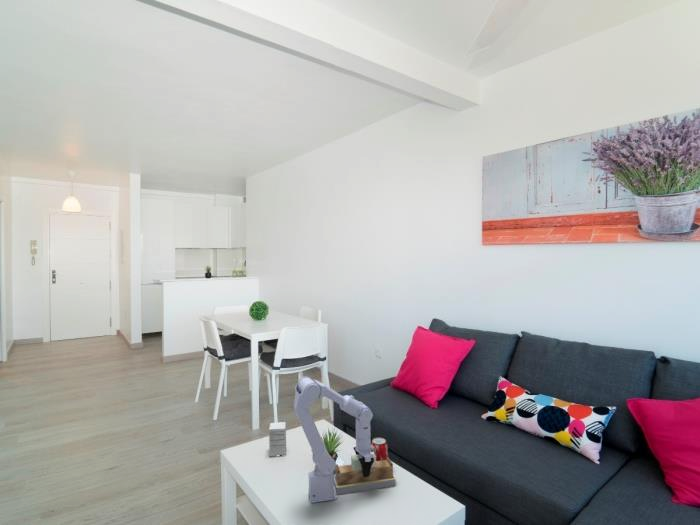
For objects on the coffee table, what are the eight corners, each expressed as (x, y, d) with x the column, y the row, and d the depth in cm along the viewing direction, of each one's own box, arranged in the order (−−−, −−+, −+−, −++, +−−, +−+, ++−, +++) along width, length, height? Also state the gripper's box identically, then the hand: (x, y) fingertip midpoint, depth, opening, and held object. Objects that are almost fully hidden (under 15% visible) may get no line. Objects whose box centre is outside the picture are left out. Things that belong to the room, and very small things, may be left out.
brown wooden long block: (337, 485, 143) (337, 471, 143) (335, 478, 148) (335, 464, 148) (393, 477, 148) (392, 463, 148) (389, 470, 153) (388, 457, 153)
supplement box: (270, 449, 178) (270, 422, 178) (286, 448, 179) (286, 421, 179) (269, 457, 170) (268, 429, 170) (285, 456, 171) (285, 428, 171)
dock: (336, 494, 142) (336, 487, 142) (333, 482, 150) (333, 476, 150) (395, 486, 147) (395, 479, 147) (388, 474, 154) (388, 468, 154)
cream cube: (366, 468, 147) (365, 457, 147) (363, 463, 151) (363, 452, 151) (376, 467, 147) (375, 456, 147) (373, 461, 151) (373, 451, 151)
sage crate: (353, 471, 145) (353, 460, 145) (351, 465, 149) (351, 455, 149) (363, 469, 146) (363, 459, 146) (361, 464, 150) (361, 454, 150)
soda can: (387, 474, 155) (386, 445, 155) (369, 473, 156) (369, 443, 156) (388, 465, 162) (388, 437, 162) (372, 464, 163) (371, 436, 163)
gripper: (378, 443, 142) (378, 479, 142) (368, 427, 156) (368, 460, 156) (359, 445, 140) (360, 482, 140) (351, 429, 155) (352, 462, 155)
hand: (363, 471), depth 148 cm, fingers open, 7 cm apart
